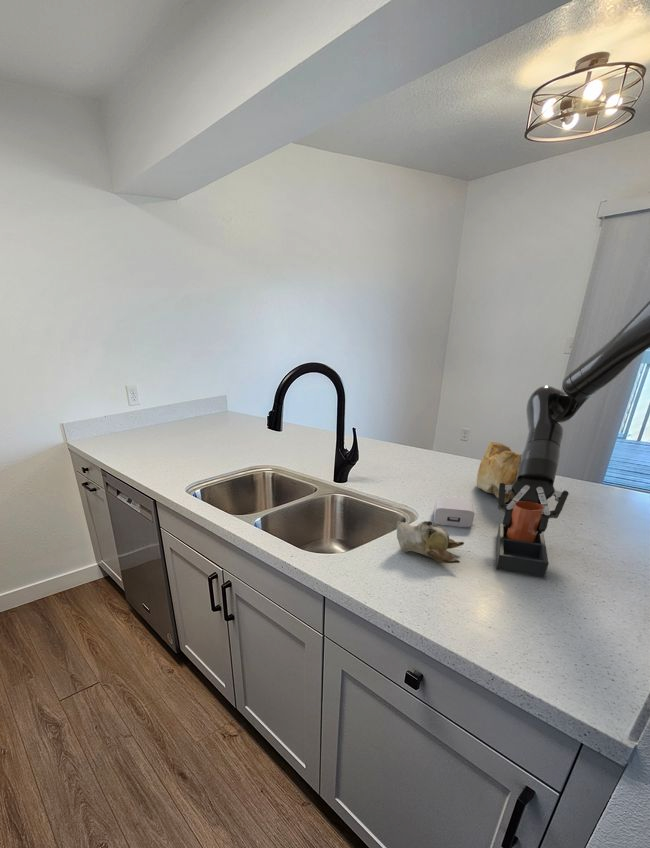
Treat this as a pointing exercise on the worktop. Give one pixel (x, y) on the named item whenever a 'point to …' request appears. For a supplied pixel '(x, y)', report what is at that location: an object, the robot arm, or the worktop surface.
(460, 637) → the worktop surface
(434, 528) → the ceramic sculpture
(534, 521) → the cup
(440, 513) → the charger
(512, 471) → the rough brown rock
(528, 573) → the holder
